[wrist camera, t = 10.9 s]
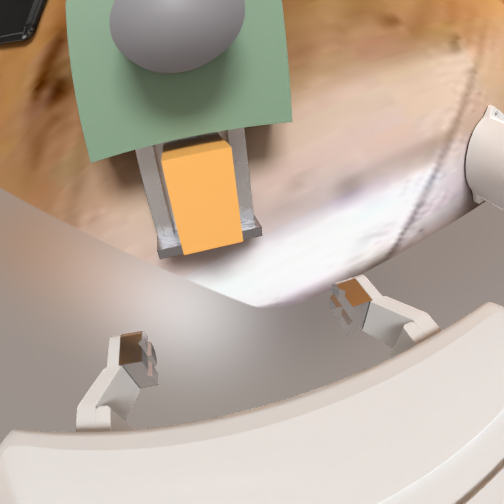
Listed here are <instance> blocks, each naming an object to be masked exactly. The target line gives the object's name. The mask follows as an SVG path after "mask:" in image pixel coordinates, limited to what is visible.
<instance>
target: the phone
mask: <svg viewBox="0 0 504 504" xmlns="http://www.w3.org/2000/svg"><path fill="white" fill-rule="evenodd" d="M45 3H46V0H0V44H3V43H10V42H17V41H24V40H27V39H29V38H30V37H31V36H32V35H33V34H34V32H35V30H36V27H37V24H38V21H39V19H40V16H41V13H42V10H43V8H44V5H45Z"/></svg>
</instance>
